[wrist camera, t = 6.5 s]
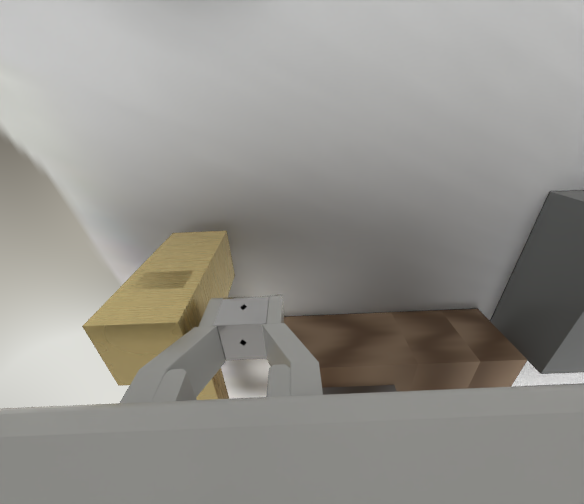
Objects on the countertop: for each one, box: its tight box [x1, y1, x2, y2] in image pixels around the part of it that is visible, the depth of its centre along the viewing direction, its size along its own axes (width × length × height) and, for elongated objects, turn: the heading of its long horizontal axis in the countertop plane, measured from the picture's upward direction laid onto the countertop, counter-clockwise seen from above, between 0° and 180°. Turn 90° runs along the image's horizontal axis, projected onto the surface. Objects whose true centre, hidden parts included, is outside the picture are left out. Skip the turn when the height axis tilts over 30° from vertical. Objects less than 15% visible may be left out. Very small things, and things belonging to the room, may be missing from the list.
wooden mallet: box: [82, 231, 235, 400], centre depth 15 cm, size 12×19×7 cm, turn 2°
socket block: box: [284, 309, 527, 395], centre depth 20 cm, size 16×12×6 cm
